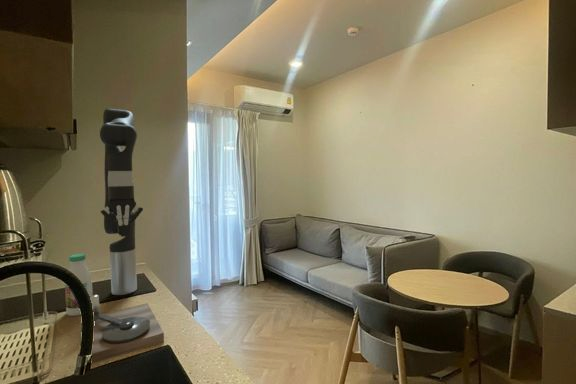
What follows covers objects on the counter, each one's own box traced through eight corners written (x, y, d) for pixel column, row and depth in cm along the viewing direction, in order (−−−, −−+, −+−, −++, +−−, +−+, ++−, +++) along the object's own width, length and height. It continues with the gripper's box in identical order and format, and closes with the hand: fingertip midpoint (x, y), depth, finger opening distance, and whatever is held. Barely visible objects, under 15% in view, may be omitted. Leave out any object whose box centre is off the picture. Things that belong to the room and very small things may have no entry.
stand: (86, 325, 94) (85, 314, 94) (147, 310, 105) (147, 300, 105) (87, 364, 74) (87, 351, 74) (164, 341, 85) (163, 329, 85)
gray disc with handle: (159, 326, 88) (158, 300, 87) (120, 347, 77) (119, 318, 77) (111, 311, 98) (110, 288, 97) (71, 328, 87) (70, 302, 86)
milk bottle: (77, 306, 108) (74, 252, 107) (98, 306, 108) (95, 252, 107) (60, 316, 100) (57, 258, 99) (83, 316, 100) (80, 258, 99)
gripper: (140, 184, 106) (142, 232, 107) (96, 185, 98) (99, 237, 99) (145, 184, 100) (147, 235, 101) (99, 185, 92) (101, 240, 93)
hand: (123, 236), depth 100 cm, fingers closed
